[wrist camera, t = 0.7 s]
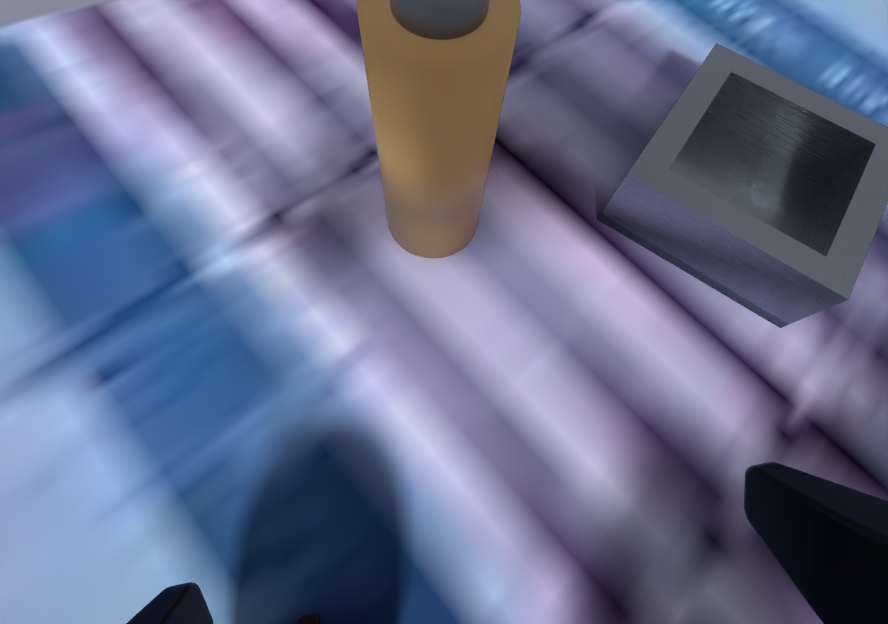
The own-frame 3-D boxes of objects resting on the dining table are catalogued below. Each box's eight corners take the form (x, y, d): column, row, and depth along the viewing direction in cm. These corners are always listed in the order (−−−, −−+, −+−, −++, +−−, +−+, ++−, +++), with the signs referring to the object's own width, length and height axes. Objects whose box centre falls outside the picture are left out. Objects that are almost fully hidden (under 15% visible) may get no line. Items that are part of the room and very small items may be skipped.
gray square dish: (844, 186, 27) (912, 139, 23) (780, 327, 23) (848, 299, 20) (678, 100, 29) (716, 43, 25) (597, 219, 25) (627, 174, 21)
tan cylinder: (494, 210, 25) (559, -40, 13) (443, 275, 24) (463, 61, 11) (423, 166, 26) (421, -107, 14) (369, 226, 25) (314, -23, 12)
